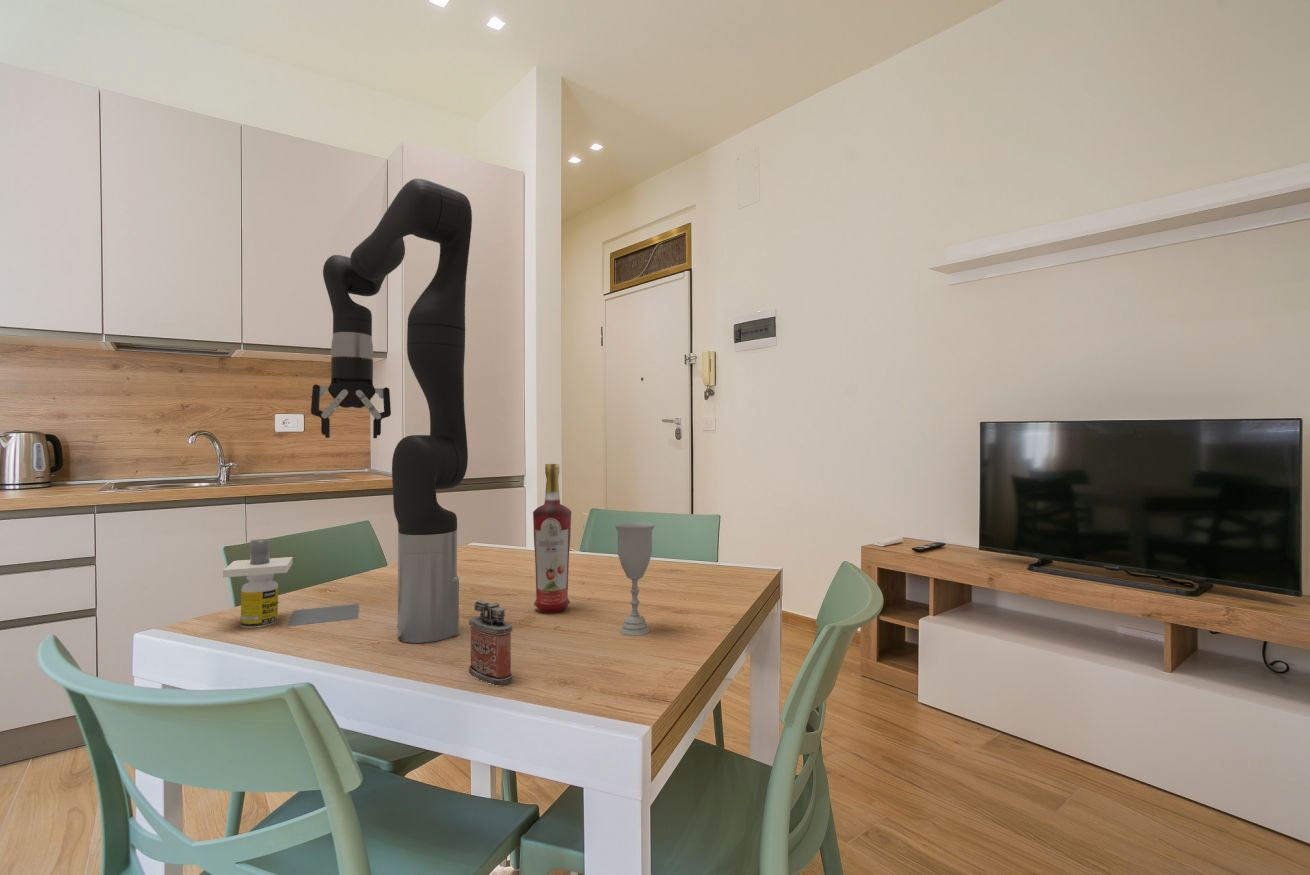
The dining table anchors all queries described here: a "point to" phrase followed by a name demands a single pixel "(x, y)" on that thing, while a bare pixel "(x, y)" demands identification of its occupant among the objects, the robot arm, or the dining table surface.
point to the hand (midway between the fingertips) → (351, 438)
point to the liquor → (552, 547)
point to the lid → (258, 562)
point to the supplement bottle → (259, 601)
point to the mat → (323, 614)
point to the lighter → (490, 644)
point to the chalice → (634, 567)
